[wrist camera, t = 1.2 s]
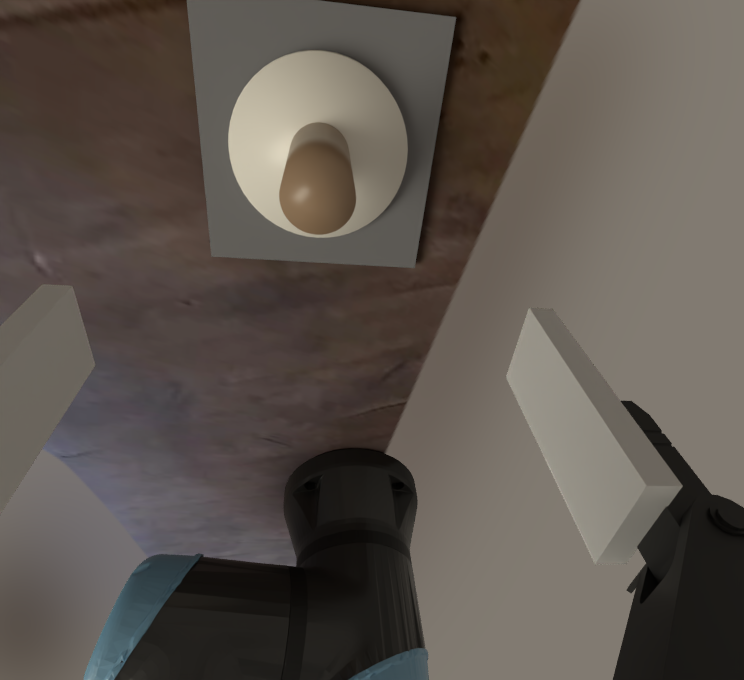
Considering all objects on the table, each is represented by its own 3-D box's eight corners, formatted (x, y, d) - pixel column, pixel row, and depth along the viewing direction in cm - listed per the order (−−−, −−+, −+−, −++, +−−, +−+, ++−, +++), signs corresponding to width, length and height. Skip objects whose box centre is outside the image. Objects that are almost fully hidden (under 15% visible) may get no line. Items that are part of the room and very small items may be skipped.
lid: (394, 237, 37) (413, 302, 29) (236, 227, 36) (210, 293, 28) (417, 60, 31) (451, 81, 22) (224, 39, 29) (184, 53, 21)
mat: (413, 263, 40) (414, 268, 39) (213, 252, 38) (211, 256, 37) (453, 16, 30) (456, 17, 29) (188, -16, 28) (185, -17, 27)
